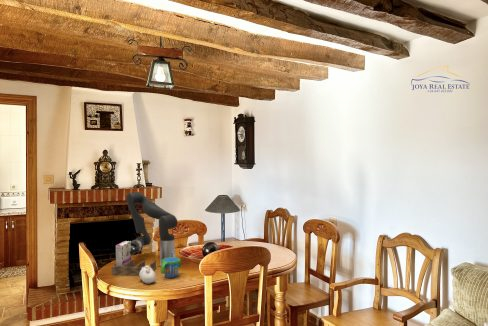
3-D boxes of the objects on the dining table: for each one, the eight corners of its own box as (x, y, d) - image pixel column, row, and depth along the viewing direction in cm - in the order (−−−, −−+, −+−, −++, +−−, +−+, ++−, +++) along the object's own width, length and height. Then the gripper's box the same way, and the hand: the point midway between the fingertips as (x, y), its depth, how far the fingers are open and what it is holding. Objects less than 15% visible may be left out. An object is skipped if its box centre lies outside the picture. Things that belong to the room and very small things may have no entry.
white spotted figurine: (153, 268, 205) (145, 259, 218) (140, 277, 202) (133, 267, 215) (161, 280, 209) (152, 271, 221) (149, 290, 206) (141, 279, 218)
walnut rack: (156, 268, 236) (156, 260, 236) (147, 276, 221) (147, 267, 221) (122, 267, 239) (122, 259, 239) (111, 274, 224) (111, 266, 224)
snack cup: (174, 271, 230) (174, 255, 230) (186, 274, 224) (186, 258, 224) (155, 278, 218) (155, 260, 218) (167, 281, 212) (167, 264, 211)
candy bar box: (124, 266, 237) (124, 240, 237) (131, 266, 236) (131, 241, 236) (115, 271, 226) (115, 245, 226) (123, 271, 225) (122, 245, 225)
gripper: (124, 240, 249) (113, 246, 232) (144, 241, 247) (134, 246, 231) (124, 251, 249) (113, 258, 233) (144, 252, 247) (135, 258, 231)
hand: (124, 252), depth 232 cm, fingers open, 8 cm apart
